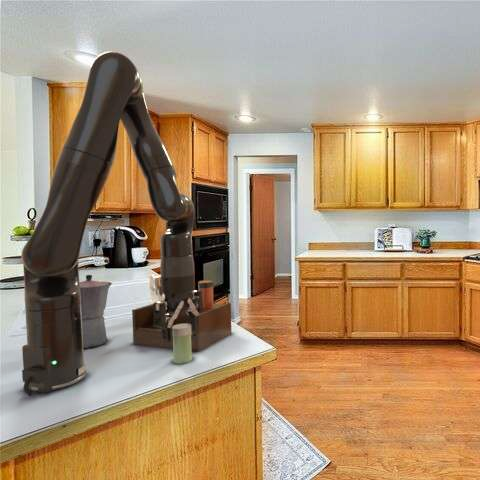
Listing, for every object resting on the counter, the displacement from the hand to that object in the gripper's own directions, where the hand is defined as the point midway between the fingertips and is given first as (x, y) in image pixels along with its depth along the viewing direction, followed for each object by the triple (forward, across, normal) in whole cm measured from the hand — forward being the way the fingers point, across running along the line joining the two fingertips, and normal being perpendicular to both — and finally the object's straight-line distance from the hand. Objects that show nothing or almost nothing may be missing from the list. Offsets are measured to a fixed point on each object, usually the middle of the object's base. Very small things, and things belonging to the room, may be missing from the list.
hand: (180, 335), depth 90 cm
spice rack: (+7, -14, -11) cm, 19 cm away
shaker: (+6, 0, 0) cm, 6 cm away
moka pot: (+7, -2, -34) cm, 35 cm away
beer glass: (+7, -31, -36) cm, 48 cm away
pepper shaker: (-2, -18, -6) cm, 19 cm away
